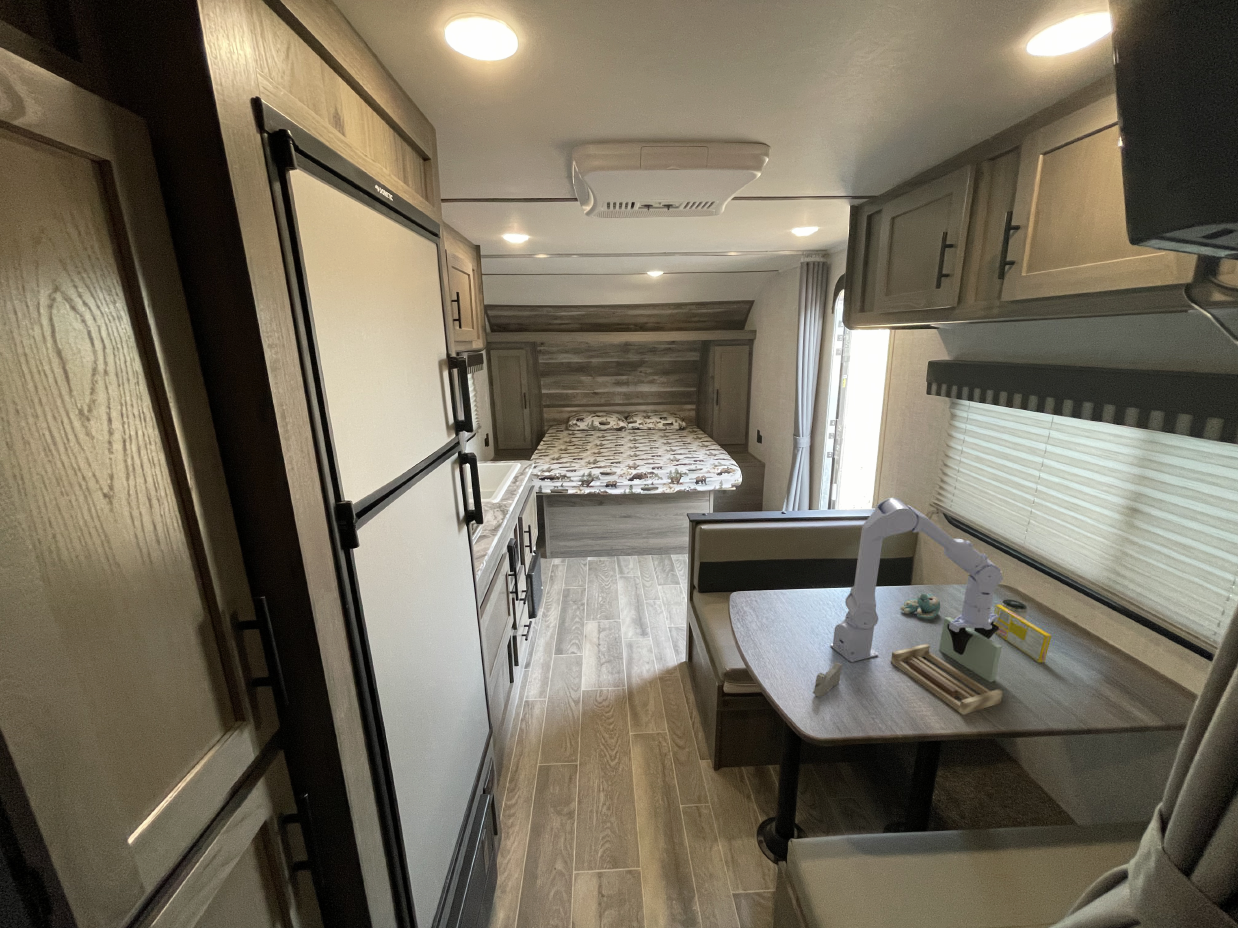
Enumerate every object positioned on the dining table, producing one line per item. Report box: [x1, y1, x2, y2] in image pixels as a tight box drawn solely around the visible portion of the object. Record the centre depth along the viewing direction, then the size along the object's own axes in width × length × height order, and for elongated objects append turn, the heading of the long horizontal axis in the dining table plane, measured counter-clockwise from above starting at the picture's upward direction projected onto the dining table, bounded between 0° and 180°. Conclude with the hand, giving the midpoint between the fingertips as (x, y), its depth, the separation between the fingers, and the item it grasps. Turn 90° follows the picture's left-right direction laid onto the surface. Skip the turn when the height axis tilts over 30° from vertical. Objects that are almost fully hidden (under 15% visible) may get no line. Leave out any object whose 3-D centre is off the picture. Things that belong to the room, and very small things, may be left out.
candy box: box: [993, 604, 1052, 663], centre depth 135 cm, size 16×2×8 cm, turn 4°
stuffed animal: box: [900, 592, 941, 620], centre depth 152 cm, size 11×7×12 cm
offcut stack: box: [908, 660, 958, 699], centre depth 120 cm, size 2×12×3 cm, turn 18°
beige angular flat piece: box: [812, 661, 843, 698], centre depth 118 cm, size 6×1×10 cm
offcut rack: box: [890, 643, 1003, 716], centre depth 121 cm, size 12×20×3 cm, turn 18°
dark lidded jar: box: [1000, 598, 1029, 621], centre depth 144 cm, size 6×6×8 cm
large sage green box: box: [938, 616, 1003, 683], centre depth 127 cm, size 2×14×10 cm, turn 18°
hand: (968, 649), depth 127 cm, fingers open, 7 cm apart
